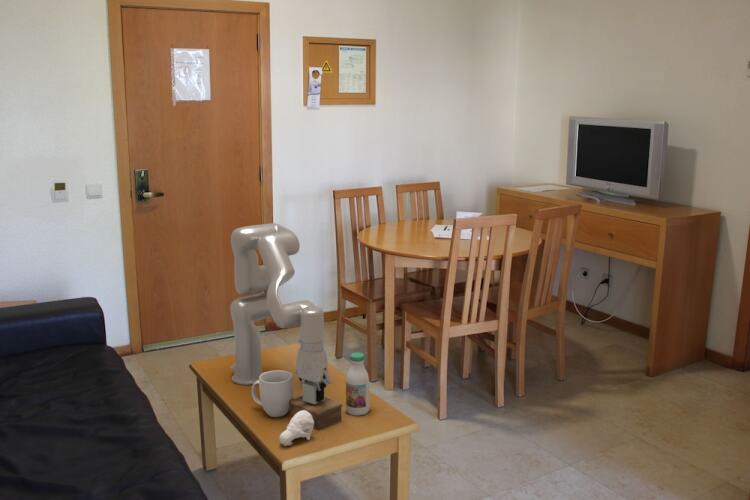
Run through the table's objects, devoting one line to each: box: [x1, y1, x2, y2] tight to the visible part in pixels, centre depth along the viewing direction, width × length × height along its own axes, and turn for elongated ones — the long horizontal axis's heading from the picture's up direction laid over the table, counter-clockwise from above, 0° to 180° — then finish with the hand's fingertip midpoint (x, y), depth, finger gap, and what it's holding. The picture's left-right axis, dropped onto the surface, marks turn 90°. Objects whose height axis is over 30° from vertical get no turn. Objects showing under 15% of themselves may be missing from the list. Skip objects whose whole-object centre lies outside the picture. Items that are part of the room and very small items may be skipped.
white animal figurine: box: [278, 410, 314, 447], centre depth 221 cm, size 6×8×12 cm
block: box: [301, 381, 326, 404], centre depth 235 cm, size 5×5×6 cm
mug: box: [250, 369, 294, 418], centre depth 241 cm, size 15×11×13 cm
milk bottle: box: [345, 352, 370, 416], centre depth 240 cm, size 8×8×20 cm
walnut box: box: [289, 395, 343, 431], centre depth 236 cm, size 14×10×6 cm
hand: (313, 397), depth 235 cm, fingers closed on block, 4 cm apart
